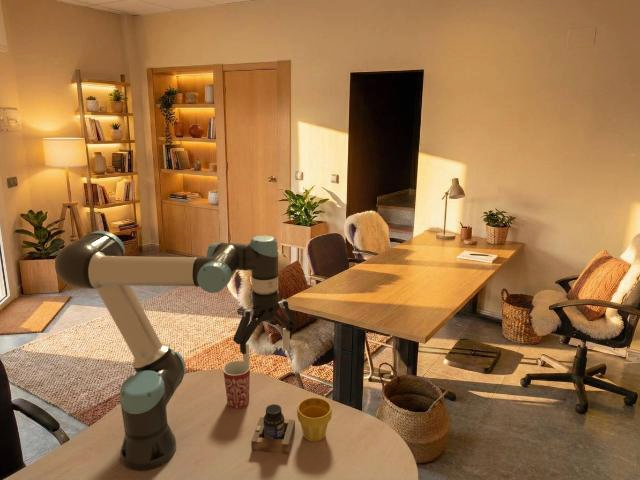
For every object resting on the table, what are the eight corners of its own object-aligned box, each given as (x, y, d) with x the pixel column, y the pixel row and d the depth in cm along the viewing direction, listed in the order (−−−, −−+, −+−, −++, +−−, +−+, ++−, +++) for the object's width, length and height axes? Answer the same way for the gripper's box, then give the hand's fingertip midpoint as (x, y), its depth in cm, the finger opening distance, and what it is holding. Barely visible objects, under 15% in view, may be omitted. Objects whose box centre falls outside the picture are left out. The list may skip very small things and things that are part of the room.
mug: (249, 411, 161) (248, 375, 157) (222, 410, 161) (220, 374, 157) (255, 388, 173) (253, 354, 169) (229, 388, 173) (227, 354, 169)
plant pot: (327, 448, 144) (328, 420, 141) (293, 443, 146) (293, 415, 143) (333, 425, 154) (334, 399, 151) (302, 421, 156) (301, 395, 153)
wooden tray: (251, 451, 143) (251, 440, 142) (260, 426, 153) (260, 416, 152) (288, 454, 142) (288, 443, 140) (295, 429, 152) (294, 419, 151)
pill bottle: (281, 448, 144) (280, 417, 141) (261, 445, 145) (260, 413, 142) (287, 435, 150) (286, 404, 146) (268, 431, 151) (267, 401, 148)
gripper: (231, 304, 130) (234, 374, 136) (308, 284, 143) (308, 348, 150) (219, 295, 135) (222, 362, 142) (295, 276, 149) (295, 339, 156)
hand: (266, 355), depth 146 cm, fingers open, 13 cm apart
